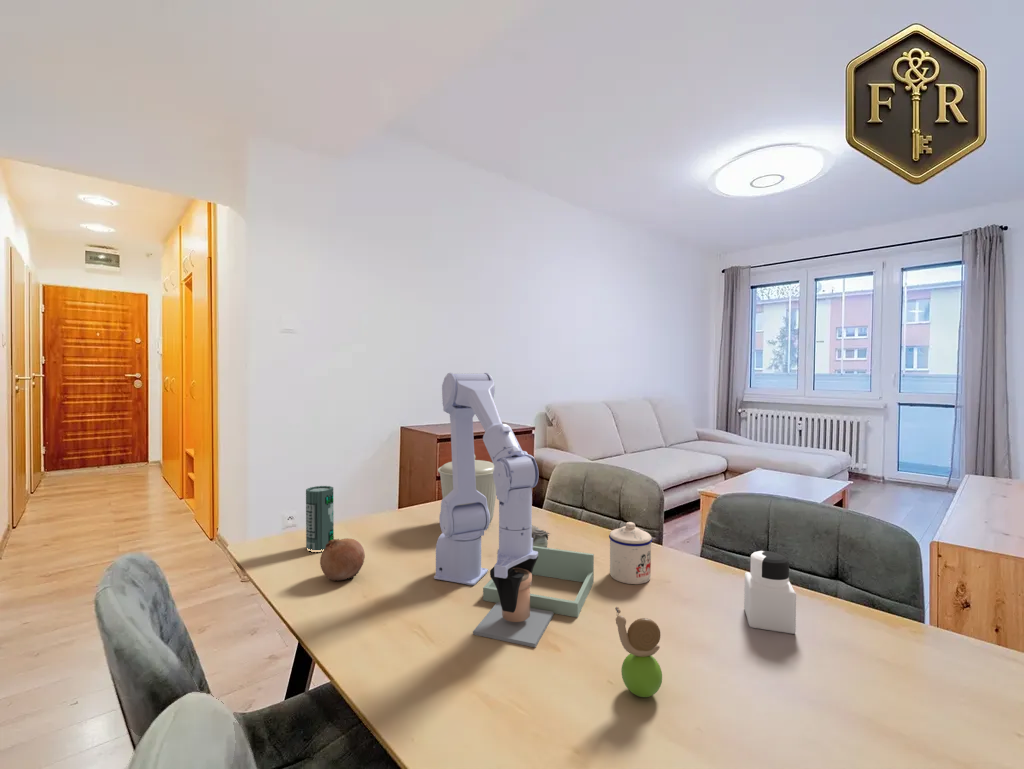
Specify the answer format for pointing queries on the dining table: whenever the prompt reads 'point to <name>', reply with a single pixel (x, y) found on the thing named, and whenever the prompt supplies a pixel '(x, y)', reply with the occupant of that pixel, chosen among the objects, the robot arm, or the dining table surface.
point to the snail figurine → (640, 655)
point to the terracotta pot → (521, 599)
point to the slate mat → (514, 626)
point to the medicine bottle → (770, 593)
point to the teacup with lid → (630, 554)
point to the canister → (482, 481)
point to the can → (319, 517)
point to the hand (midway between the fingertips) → (515, 602)
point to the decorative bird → (539, 537)
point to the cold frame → (560, 567)
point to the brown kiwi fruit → (342, 559)
